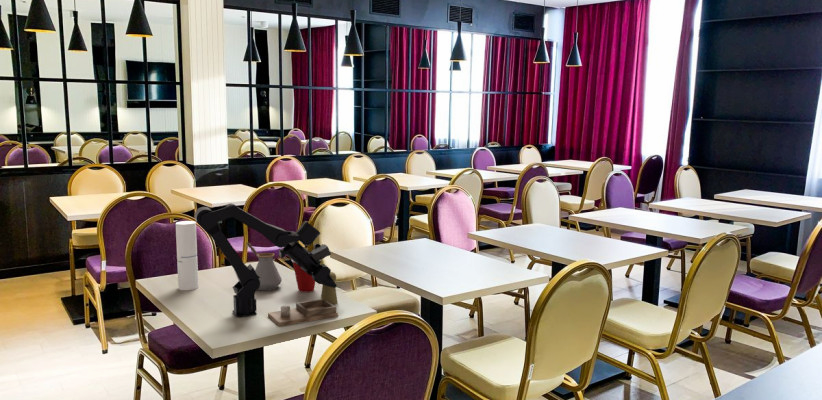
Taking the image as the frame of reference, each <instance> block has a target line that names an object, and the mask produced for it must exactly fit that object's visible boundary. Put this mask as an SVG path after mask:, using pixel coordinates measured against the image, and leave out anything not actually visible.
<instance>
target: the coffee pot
mask: <svg viewBox="0 0 822 400" xmlns="http://www.w3.org/2000/svg"><path fill="white" fill-rule="evenodd" d="M246 245H247V246H246ZM246 245H244V246H245V248H250V250H251V251H252V253H253V254H254V255H255V256H256V257H257V258H258V261H257V264H256V267H255V268H254V270H255V272H256V273H257V274H258V275H259V276H260V278H258V279H259V280H260V287H259V289H258V290H257V291H272V290H275V289H277V287H278V286H280V285H281V283H282V276H281V275H280V273H279V271H278V268H277V266H276V264H275V261H274V257H275V253H274V252H273V253H271V252H263V253H262V252H261V253H258V252H257V251H256V248H254V247H253V245H252V244H251V243H250V242H246Z"/></svg>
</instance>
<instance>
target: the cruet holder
mask: <svg viewBox="0 0 822 400" xmlns="http://www.w3.org/2000/svg"><path fill="white" fill-rule="evenodd" d="M295 307H296V308H292V309H291V306H290V304H289V305H286V304H285V305H284V304H283V305H281V306H280V310H277V311H271V312H267V313H268V314H267V316H268V318H270V320H272V322H274V323H275V324H276V325H277V326H278V327H284V326H288V325H289V326H290V325H294V324H295V325H296V324H301V323H306V322H312V321H318V320H324V319H330V318H336V317H339V313H338V312H337V306H336V305H333V304H331V303H330V302H328V301H327V300H325V299H321V298H319V299H314V300H313V299H312V300H305V301H301V302H300V301H299V302H296V303H295Z"/></svg>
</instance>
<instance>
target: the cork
mask: <svg viewBox="0 0 822 400" xmlns="http://www.w3.org/2000/svg"><path fill="white" fill-rule="evenodd" d="M330 276H331V278H332V279H333V281H334V282H335V283H336V280H337V274H336V273H335V272H330ZM321 287H322V288H321V295H320V299H325V300H327V301H328V302H330V303H331V304H333V305H334V306H336V305H337V304H338V297H337V296H338V294H337V290H336V289H337V287H336V288H333V287H329V286H326V285H322V286H321Z"/></svg>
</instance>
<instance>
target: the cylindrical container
mask: <svg viewBox="0 0 822 400" xmlns="http://www.w3.org/2000/svg"><path fill="white" fill-rule="evenodd" d="M175 238H176V239H175V240H176V243H175V244H176V260H177V262H176V263H177V283H178V284H177V286H178V290H180V291H192V290H197V289H198V288H199V272H198V271H199V265H198V243H197V241H198V240H197V221H194V220H183V221H176V223H175Z"/></svg>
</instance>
